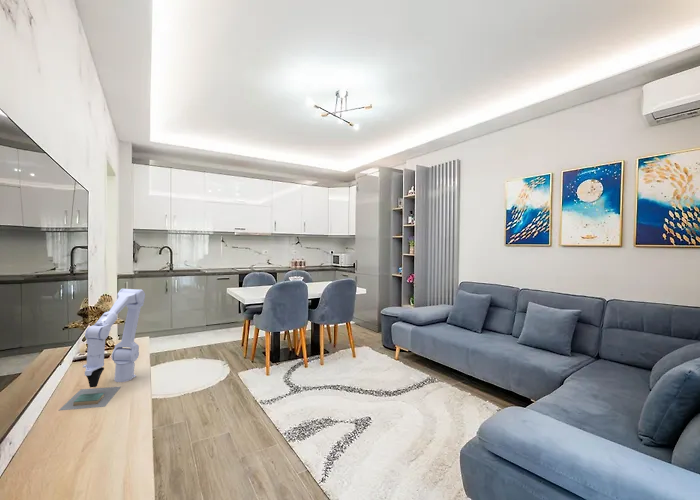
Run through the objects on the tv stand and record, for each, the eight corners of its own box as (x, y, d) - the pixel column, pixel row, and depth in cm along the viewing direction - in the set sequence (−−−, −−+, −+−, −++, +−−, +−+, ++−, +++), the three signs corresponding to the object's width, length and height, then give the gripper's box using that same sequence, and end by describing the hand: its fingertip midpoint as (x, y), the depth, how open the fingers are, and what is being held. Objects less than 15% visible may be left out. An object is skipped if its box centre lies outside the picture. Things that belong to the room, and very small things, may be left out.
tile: (81, 394, 136) (73, 401, 129) (104, 392, 138) (97, 399, 132) (80, 398, 136) (73, 405, 129) (103, 396, 138) (97, 403, 132)
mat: (80, 390, 144) (80, 389, 144) (120, 387, 149) (121, 386, 149) (58, 412, 125) (58, 410, 125) (104, 408, 130) (105, 406, 130)
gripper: (91, 349, 143) (88, 380, 143) (76, 360, 129) (74, 394, 129) (110, 348, 145) (108, 379, 145) (97, 359, 131) (95, 393, 131)
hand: (93, 386), depth 137 cm, fingers closed
